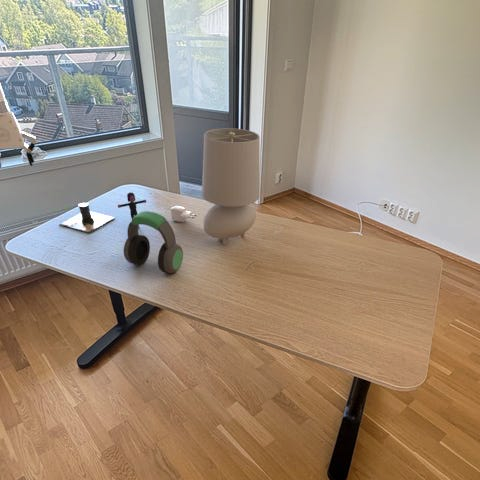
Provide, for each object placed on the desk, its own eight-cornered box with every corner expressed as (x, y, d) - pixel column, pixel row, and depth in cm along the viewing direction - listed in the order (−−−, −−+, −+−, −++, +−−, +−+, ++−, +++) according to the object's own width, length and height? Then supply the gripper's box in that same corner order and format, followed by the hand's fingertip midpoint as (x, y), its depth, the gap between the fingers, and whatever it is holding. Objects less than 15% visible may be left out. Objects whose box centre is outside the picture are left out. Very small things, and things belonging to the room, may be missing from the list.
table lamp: (239, 223, 154) (244, 123, 128) (268, 244, 141) (279, 137, 114) (193, 235, 144) (188, 128, 118) (219, 259, 131) (219, 145, 105)
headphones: (185, 265, 127) (182, 213, 114) (171, 280, 119) (165, 227, 106) (141, 254, 131) (132, 203, 118) (124, 268, 124) (113, 215, 110)
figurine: (124, 232, 144) (117, 197, 134) (121, 228, 146) (113, 193, 136) (151, 226, 149) (146, 191, 139) (148, 222, 151) (143, 188, 141)
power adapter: (198, 221, 154) (197, 209, 150) (193, 226, 151) (192, 213, 147) (175, 217, 157) (174, 204, 153) (170, 221, 153) (169, 208, 149)
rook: (81, 223, 147) (77, 207, 142) (81, 218, 150) (77, 203, 145) (93, 222, 148) (89, 206, 144) (93, 217, 152) (89, 201, 147)
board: (89, 233, 142) (88, 232, 141) (59, 225, 146) (59, 223, 146) (114, 218, 153) (114, 217, 152) (86, 211, 157) (86, 209, 157)
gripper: (-41, 111, 101) (-15, 171, 113) (25, 109, 106) (43, 167, 118) (-36, 106, 106) (-12, 164, 118) (26, 104, 112) (44, 160, 123)
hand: (16, 165), depth 118 cm, fingers open, 9 cm apart
